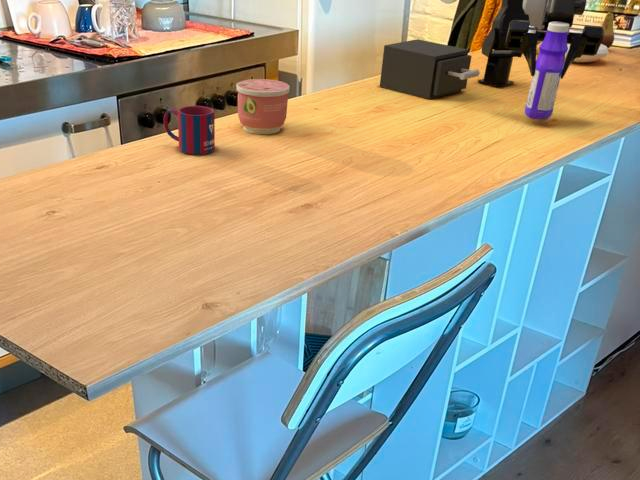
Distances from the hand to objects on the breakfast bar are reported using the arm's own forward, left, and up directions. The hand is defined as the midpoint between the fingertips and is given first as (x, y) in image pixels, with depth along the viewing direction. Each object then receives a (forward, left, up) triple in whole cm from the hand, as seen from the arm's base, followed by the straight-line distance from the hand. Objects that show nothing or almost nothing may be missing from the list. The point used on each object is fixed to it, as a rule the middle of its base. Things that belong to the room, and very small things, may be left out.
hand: (547, 76), depth 167 cm
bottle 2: (-65, -44, -9) cm, 79 cm away
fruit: (-88, -32, -9) cm, 94 cm away
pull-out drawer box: (-5, -30, -8) cm, 32 cm away
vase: (-68, -29, -9) cm, 74 cm away
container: (+49, -34, -9) cm, 60 cm away
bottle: (-1, -1, -8) cm, 8 cm away
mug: (+69, -33, -9) cm, 77 cm away
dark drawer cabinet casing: (-5, -35, -9) cm, 36 cm away
